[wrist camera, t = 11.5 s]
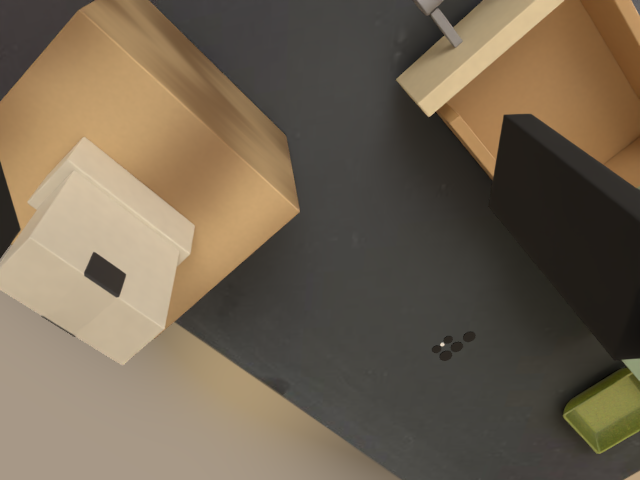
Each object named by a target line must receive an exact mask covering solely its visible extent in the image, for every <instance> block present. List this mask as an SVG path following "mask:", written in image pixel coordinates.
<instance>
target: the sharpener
mask: <svg viewBox="0 0 640 480" xmlns="http://www.w3.org/2000/svg"><path fill="white" fill-rule="evenodd" d="M27 203H28V204H29V205H30V206H32V207H33V208H35V209H36V210H37V211H36V212H35V213H34V215H33V216H32V218H31V219H30V220H29V222H28V223H27V225H26V226H25V228H24V229H23V230H22V232H21V233H20V235H19V236H18V238H17V239H16V240H15V242H14V243H13V245H12V246H11V248H10V249H9V250H8V252H7V253H6V255H5V256H4V257H3V259H2V260H1V262H0V290H1V291H3V292H4V293H6V294H7V295H9V296H11V297H12V298H14V299H15V300H17V301H19V302H20V303H22V304H24V305H25V306H27V307H29V308H30V309H32V310H33V311H35V312H37V313H38V314H40V315H41V316H42V317H43V318H45V319H46V320H48V321H50V322H51V323H53V324H54V325H56V326H58V327H59V328H61V329H63V330H64V331H66V332H67V333H69V334H71V335H72V336H74V337H77V338H79V339H80V340H82V341H83V342H85V343H87V344H88V345H90V346H92V347H93V348H95V349H97V350H98V351H100V352H101V353H103V354H105V355H106V356H108V357H109V358H111V359H113V360H114V361H116V362H118V363H119V364H121V365H124V364H125V363H126V362H127V361H129V360H130V359H131V358H132V357H133V356H134V355H135V354H136V353H138V352H139V351H140V350H141V349H142V348H143V347H145V346H146V345H147V344H148V343H149V342H150V341H151V340H153V339H154V338H155V337H156V336H157V335H158V334H159V333H161V332H162V331H163V330H164V329H165V324H166V319H167V314H168V309H169V304H170V299H171V293H172V288H173V283H174V278H175V273H176V268H177V266H178V265H179V264H180V263H181V262H182V261H184V260H185V259H186V258H187V257H188V256H189V255H190V253H191V247H192V241H193V235H194V229H195V225H194V224H193V223H191V222H190V221H189V220H188V219H186V218H185V217H184V216H183V215H181V214H180V213H179V212H178V211H176V210H175V209H174V208H173V207H171V206H170V205H169V204H168V203H166V202H165V201H164V200H163V199H161V198H160V197H159V196H158V195H157V194H155V193H154V192H153V191H152V190H150V189H149V188H148V187H147V186H145V185H144V184H143V183H142V182H140V181H139V180H138V179H137V178H135V177H134V176H133V175H132V174H130V173H129V172H128V171H127V170H125V169H124V168H123V167H122V166H121V165H119V164H118V163H117V162H116V161H114V160H113V159H112V158H111V157H109V156H108V155H107V154H106V153H104V152H103V151H102V150H101V149H99V148H98V147H97V146H96V145H94V144H93V143H92V142H91V141H89V140H88V139H87V138H86V137H83V138H82V139H81V140H80V141H79V142H78V143H77V144H76V145H75V146H74V147H73V148H72V149H71V150H70V152H69V153H68V154H67V155H66V156H65V157H64V158H63V159H62V160H61V161H60V162H59V163H58V164H57V165H56V167H55V168H54V169H53V170H52V171H51V172H50V173H49V174H48V175H47V176H46V178H45V179H44V180H43V182H42V183H41V184H40V186H39V187H38V188H37V189H36V191H35V192H34V193H33V195H32V196H31V197H30V199H29V200H28V202H27Z"/></svg>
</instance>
